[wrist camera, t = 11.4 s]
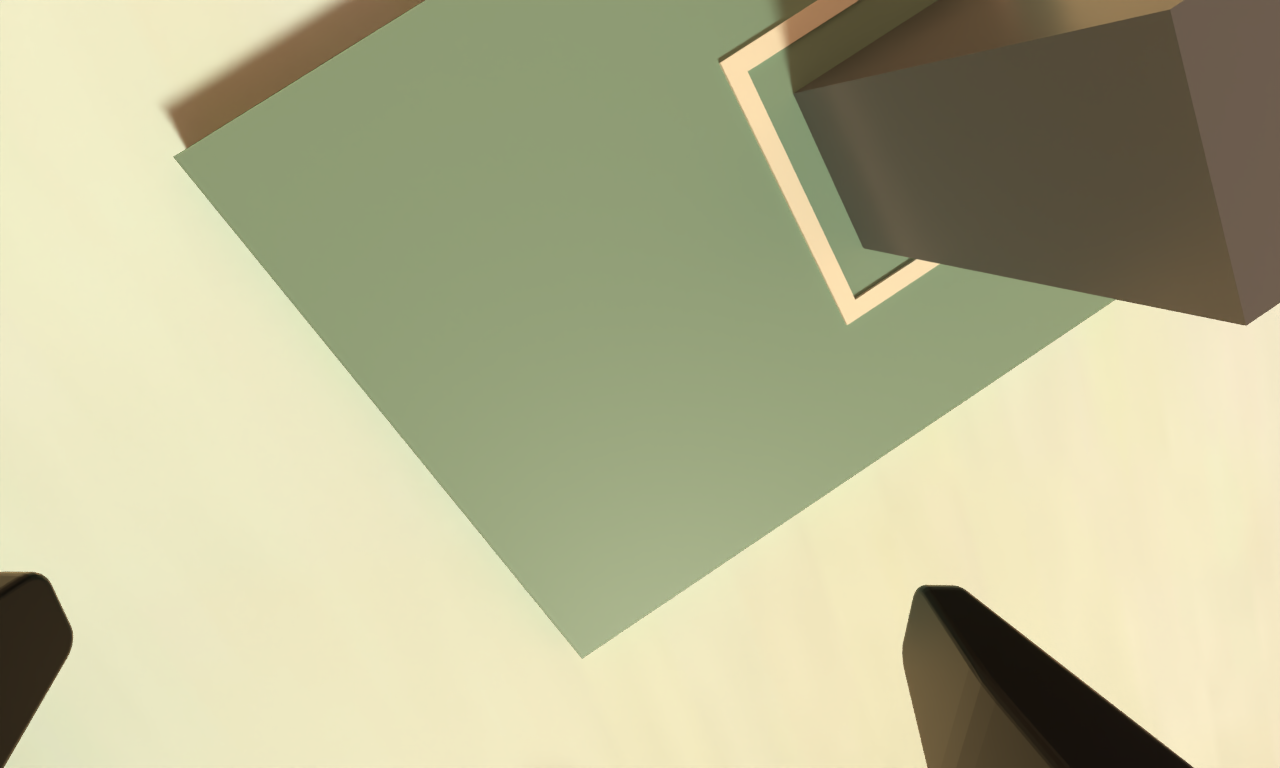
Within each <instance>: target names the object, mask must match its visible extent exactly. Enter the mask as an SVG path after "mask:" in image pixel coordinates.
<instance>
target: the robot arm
mask: <svg viewBox="0 0 1280 768" xmlns="http://www.w3.org/2000/svg"><path fill="white" fill-rule="evenodd" d="M72 643H73V631H72V628H71V625H70V623H69V621H68V619H67V617H66V614H65V612H64V610H63V608H62V606H61V604H60V602H59V600H58V597H57V595H56V593H55V591H54V589H53V587H52V585H51V583H50V581H49V580H48V579H47V578H46V577H45V576H43V575H42V574H39V573H36V572H0V768H4V766H5V765H6V763H7V761H8V759H9V758H10V756H11V754H12V752H13V751H14V749H15V747H16V745H17V744H18V742H19V740H20V739H21V737H22V735H23V733H24V732H25V730H26V728H27V726H28V725H29V723H30V721H31V720H32V718H33V716H34V714H35V713H36V711H37V709H38V707H39V706H40V704H41V702H42V700H43V699H44V697H45V695H46V694H47V692H48V690H49V688H50V687H51V685H52V683H53V681H54V680H55V678H56V676H57V675H58V673H59V671H60V669H61V668H62V666H63V664H64V662H65V661H66V659H67V657H68V655H69V653H70V650H71V647H72ZM902 655H903V665H904V670H905V675H906V679H907V683H908V687H909V692H910V696H911V700H912V704H913V708H914V713H915V717H916V721H917V725H918V730H919V734H920V738H921V742H922V746H923V751H924V755H925V759H926V763H927V768H1194V767H1192V766H1191V765H1190V764H1188V763H1187V762H1186V761H1185V760H1183V759H1182V758H1181V757H1179V756H1178V755H1177V754H1176V753H1174V752H1173V751H1172V750H1170V749H1169V748H1168V747H1167V746H1165V745H1164V744H1163V743H1161V742H1160V741H1159V740H1158V739H1156V738H1155V737H1154V736H1152V735H1151V734H1150V733H1149V732H1147V731H1146V730H1145V729H1143V728H1142V727H1141V726H1140V725H1138V724H1137V723H1136V722H1134V721H1133V720H1132V719H1131V718H1129V717H1128V716H1127V715H1126V714H1124V713H1123V712H1122V711H1120V710H1119V709H1118V708H1117V707H1115V706H1114V705H1113V704H1111V703H1110V702H1109V701H1108V700H1106V699H1105V698H1104V697H1102V696H1101V695H1100V694H1099V693H1097V692H1096V691H1095V690H1093V689H1092V688H1091V687H1090V686H1088V685H1087V684H1086V683H1084V682H1083V681H1082V680H1081V679H1079V678H1078V677H1077V676H1075V675H1074V674H1073V673H1072V672H1070V671H1069V670H1068V669H1066V668H1065V667H1064V666H1063V665H1061V664H1060V663H1059V662H1057V661H1056V660H1055V659H1054V658H1052V657H1051V656H1050V655H1048V654H1047V653H1046V652H1045V651H1043V650H1042V649H1041V648H1039V647H1038V646H1037V645H1036V644H1034V643H1033V642H1032V641H1030V640H1029V639H1028V638H1027V637H1025V636H1024V635H1023V634H1022V633H1020V632H1019V631H1018V630H1016V629H1015V628H1014V627H1013V626H1011V625H1010V624H1009V623H1007V622H1006V621H1005V620H1004V619H1002V618H1001V617H1000V616H998V615H997V614H996V613H995V612H993V611H992V610H991V609H989V608H988V607H987V606H986V605H984V604H983V603H982V602H980V601H979V600H978V599H977V598H975V597H974V596H973V595H971V594H970V593H969V592H968V591H966V590H965V589H963V588H961V587H959V586H953V585H923V586H921V587H919V588H918V589H917V590H916V592H915V594H914V597H913V601H912V605H911V610H910V614H909V619H908V623H907V628H906V632H905V637H904V641H903V650H902Z"/></svg>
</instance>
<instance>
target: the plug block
mask: <svg viewBox="0 0 1280 768" xmlns="http://www.w3.org/2000/svg"><path fill="white" fill-rule="evenodd" d="M793 95H794V97H795V99H796V101H797V103H798V106H799V108H800V110H801V112H802V114H803V117H804V119H805V121H806V123H807V125H808V128H809V130H810V132H811V134H812V136H813V139H814V141H815V143H816V145H817V147H818V150H819V152H820V154H821V156H822V158H823V161H824V163H825V165H826V167H827V170H828V172H829V174H830V176H831V178H832V181H833V183H834V185H835V187H836V189H837V192H838V194H839V196H840V198H841V200H842V203H843V205H844V207H845V209H846V211H847V214H848V216H849V218H850V220H851V222H852V225H853V227H854V229H855V231H856V233H857V236H858V238H859V240H860V242H861V244H862V247H863V248H864V249H869V250H874V251H879V252H884V253H889V254H894V255H899V256H904V257H909V258H914V259H919V260H923V261H928V262H933V263H938V264H943V265H948V266H953V267H958V268H963V269H968V270H973V271H978V272H983V273H988V274H993V275H998V276H1003V277H1008V278H1013V279H1018V280H1023V281H1028V282H1033V283H1037V284H1042V285H1047V286H1052V287H1057V288H1062V289H1067V290H1072V291H1077V292H1082V293H1087V294H1092V295H1097V296H1102V297H1107V298H1112V299H1117V300H1122V301H1127V302H1132V303H1137V304H1142V305H1147V306H1151V307H1156V308H1161V309H1166V310H1171V311H1176V312H1181V313H1186V314H1191V315H1196V316H1201V317H1206V318H1211V319H1216V320H1221V321H1226V322H1231V323H1236V324H1241V325H1248V324H1249V323H1251V322H1252V321H1254V320H1255V319H1257V318H1258V317H1260V316H1261V315H1262V314H1264V313H1265V312H1267V311H1268V310H1270V309H1271V308H1273V307H1274V306H1276V305H1277V304H1279V303H1280V0H937V1H936V2H934V3H933V4H931V5H930V6H928V7H927V8H925V9H924V10H922V11H920V12H919V13H917V14H916V15H914V16H913V17H911V18H910V19H908V20H906V21H905V22H903V23H902V24H900V25H899V26H897V27H896V28H894V29H893V30H891V31H889V32H888V33H886V34H885V35H883V36H882V37H880V38H879V39H877V40H875V41H874V42H872V43H871V44H869V45H868V46H866V47H865V48H863V49H861V50H860V51H858V52H857V53H855V54H854V55H852V56H851V57H849V58H848V59H846V60H844V61H843V62H841V63H840V64H838V65H837V66H835V67H834V68H832V69H830V70H829V71H827V72H826V73H824V74H823V75H821V76H820V77H818V78H817V79H815V80H813V81H812V82H810V83H809V84H807V85H806V86H804V87H803V88H801V89H799V90H798V91H796V92H795V93H793Z"/></svg>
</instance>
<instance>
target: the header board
mask: <svg viewBox="0 0 1280 768" xmlns="http://www.w3.org/2000/svg"><path fill="white" fill-rule="evenodd" d="M936 1H937V0H425V1H423V2H422V3H420V4H418V5H417V6H415V7H414V8H412V9H410V10H409V11H407V12H406V13H404V14H402V15H401V16H399V17H397V18H396V19H394V20H393V21H391V22H389V23H388V24H386V25H385V26H383V27H381V28H380V29H378V30H377V31H375V32H373V33H372V34H370V35H369V36H367V37H365V38H364V39H362V40H360V41H359V42H357V43H356V44H354V45H352V46H351V47H349V48H348V49H346V50H344V51H343V52H341V53H340V54H338V55H336V56H335V57H333V58H332V59H330V60H328V61H327V62H325V63H324V64H322V65H320V66H319V67H317V68H315V69H314V70H312V71H311V72H309V73H307V74H306V75H304V76H303V77H301V78H299V79H298V80H296V81H295V82H293V83H291V84H290V85H288V86H287V87H285V88H283V89H282V90H280V91H279V92H277V93H275V94H274V95H272V96H270V97H269V98H267V99H266V100H264V101H262V102H261V103H259V104H258V105H256V106H254V107H253V108H251V109H250V110H248V111H246V112H245V113H243V114H242V115H240V116H238V117H237V118H235V119H234V120H232V121H230V122H229V123H227V124H225V125H224V126H222V127H221V128H219V129H217V130H216V131H214V132H213V133H211V134H209V135H208V136H206V137H205V138H203V139H201V140H200V141H198V142H197V143H195V144H193V145H192V146H190V147H189V148H187V149H185V150H184V151H182V152H180V153H179V154H177V155H176V156H174V158H175V160H176V161H177V162H178V163H179V164H180V166H181V167H182V168H183V169H184V171H185V172H186V173H187V174H188V175H189V177H190V178H191V179H192V180H193V182H194V183H195V184H196V185H197V187H198V188H199V189H200V190H201V191H202V193H203V194H204V195H205V196H206V198H207V199H208V200H209V201H210V202H211V204H212V205H213V206H214V207H215V209H216V210H217V211H218V212H219V214H220V215H221V216H222V217H223V218H224V220H225V221H226V222H227V223H228V225H229V226H230V227H231V228H232V230H233V231H234V232H235V233H236V234H237V236H238V237H239V238H240V239H241V241H242V242H243V243H244V244H245V245H246V247H247V248H248V249H249V250H250V252H251V253H252V254H253V255H254V257H255V258H256V259H257V260H258V261H259V263H260V264H261V265H262V266H263V268H264V269H265V270H266V271H267V272H268V274H269V275H270V276H271V277H272V279H273V280H274V281H275V282H276V284H277V285H278V286H279V287H280V288H281V290H282V291H283V292H284V293H285V295H286V296H287V297H288V298H289V300H290V301H291V302H292V303H293V304H294V306H295V307H296V308H297V309H298V311H299V312H300V313H301V314H302V315H303V317H304V318H305V319H306V320H307V322H308V323H309V324H310V325H311V327H312V328H313V329H314V330H315V331H316V333H317V334H318V335H319V336H320V338H321V339H322V340H323V341H324V342H325V344H326V345H327V346H328V347H329V349H330V350H331V351H332V352H333V354H334V355H335V356H336V357H337V358H338V360H339V361H340V362H341V363H342V365H343V366H344V367H345V368H346V369H347V371H348V372H349V373H350V374H351V376H352V377H353V378H354V379H355V381H356V382H357V383H358V384H359V385H360V387H361V388H362V389H363V390H364V392H365V393H366V394H367V395H368V397H369V398H370V399H371V400H372V401H373V403H374V404H375V405H376V406H377V408H378V409H379V410H380V411H381V412H382V414H383V415H384V416H385V417H386V419H387V420H388V421H389V422H390V424H391V425H392V426H393V427H394V428H395V430H396V431H397V432H398V433H399V435H400V436H401V437H402V438H403V439H404V441H405V442H406V443H407V444H408V446H409V447H410V448H411V449H412V451H413V452H414V453H415V454H416V455H417V457H418V458H419V459H420V460H421V462H422V463H423V464H424V465H425V467H426V468H427V469H428V470H429V471H430V473H431V474H432V475H433V476H434V478H435V479H436V480H437V481H438V482H439V484H440V485H441V486H442V487H443V489H444V490H445V491H446V492H447V494H448V495H449V496H450V497H451V498H452V500H453V501H454V502H455V503H456V505H457V506H458V507H459V508H460V509H461V511H462V512H463V513H464V514H465V516H466V517H467V518H468V519H469V521H470V522H471V523H472V524H473V525H474V527H475V528H476V529H477V530H478V532H479V533H480V534H481V535H482V537H483V538H484V539H485V540H486V541H487V543H488V544H489V545H490V546H491V548H492V549H493V550H494V551H495V552H496V554H497V555H498V556H499V557H500V559H501V560H502V561H503V562H504V564H505V565H506V566H507V567H508V568H509V570H510V571H511V572H512V573H513V575H514V576H515V577H516V578H517V579H518V581H519V582H520V583H521V584H522V586H523V587H524V588H525V589H526V591H527V592H528V593H529V594H530V595H531V597H532V598H533V599H534V600H535V602H536V603H537V604H538V605H539V607H540V608H541V609H542V610H543V611H544V613H545V614H546V615H547V616H548V618H549V619H550V620H551V621H552V622H553V624H554V625H555V626H556V627H557V629H558V630H559V631H560V632H561V634H562V635H563V636H564V637H565V638H566V640H567V641H568V642H569V643H570V645H571V646H572V647H573V648H574V649H575V651H576V652H577V653H578V654H579V656H580V657H581V658H584V657H585V656H587V655H588V654H590V653H591V652H593V651H594V650H596V649H597V648H599V647H600V646H602V645H603V644H605V643H606V642H608V641H609V640H611V639H612V638H614V637H615V636H617V635H618V634H620V633H621V632H623V631H624V630H625V629H627V628H628V627H630V626H631V625H633V624H634V623H636V622H637V621H639V620H640V619H642V618H643V617H645V616H646V615H648V614H649V613H651V612H652V611H654V610H655V609H657V608H658V607H660V606H661V605H663V604H664V603H666V602H667V601H669V600H670V599H672V598H673V597H674V596H676V595H677V594H679V593H680V592H682V591H683V590H685V589H686V588H688V587H689V586H691V585H692V584H694V583H695V582H697V581H698V580H700V579H701V578H703V577H704V576H706V575H707V574H709V573H710V572H712V571H713V570H715V569H716V568H718V567H719V566H721V565H722V564H724V563H725V562H726V561H728V560H729V559H731V558H732V557H734V556H735V555H737V554H738V553H740V552H741V551H743V550H744V549H746V548H747V547H749V546H750V545H752V544H753V543H755V542H756V541H758V540H759V539H761V538H762V537H764V536H765V535H767V534H768V533H770V532H771V531H773V530H774V529H775V528H777V527H778V526H780V525H781V524H783V523H784V522H786V521H787V520H789V519H790V518H792V517H793V516H795V515H796V514H798V513H799V512H801V511H802V510H804V509H805V508H807V507H808V506H810V505H811V504H813V503H814V502H816V501H817V500H819V499H820V498H822V497H823V496H824V495H826V494H827V493H829V492H830V491H832V490H833V489H835V488H836V487H838V486H839V485H841V484H842V483H844V482H845V481H847V480H848V479H850V478H851V477H853V476H854V475H856V474H857V473H859V472H860V471H862V470H863V469H865V468H866V467H868V466H869V465H871V464H872V463H874V462H875V461H876V460H878V459H879V458H881V457H882V456H884V455H885V454H887V453H888V452H890V451H891V450H893V449H894V448H896V447H897V446H899V445H900V444H902V443H903V442H905V441H906V440H908V439H909V438H911V437H912V436H914V435H915V434H917V433H918V432H920V431H921V430H923V429H924V428H925V427H927V426H928V425H930V424H931V423H933V422H934V421H936V420H937V419H939V418H940V417H942V416H943V415H945V414H946V413H948V412H949V411H951V410H952V409H954V408H955V407H957V406H958V405H960V404H961V403H963V402H964V401H966V400H967V399H969V398H970V397H972V396H973V395H975V394H976V393H977V392H979V391H980V390H982V389H983V388H985V387H986V386H988V385H989V384H991V383H992V382H994V381H995V380H997V379H998V378H1000V377H1001V376H1003V375H1004V374H1006V373H1007V372H1009V371H1010V370H1012V369H1013V368H1015V367H1016V366H1018V365H1019V364H1021V363H1022V362H1024V361H1025V360H1026V359H1028V358H1029V357H1031V356H1032V355H1034V354H1035V353H1037V352H1038V351H1040V350H1041V349H1043V348H1044V347H1046V346H1047V345H1049V344H1050V343H1052V342H1053V341H1055V340H1056V339H1058V338H1059V337H1061V336H1062V335H1064V334H1065V333H1067V332H1068V331H1070V330H1071V329H1073V328H1074V327H1075V326H1077V325H1078V324H1080V323H1081V322H1083V321H1084V320H1086V319H1087V318H1089V317H1090V316H1092V315H1093V314H1095V313H1096V312H1098V311H1099V310H1101V309H1102V308H1104V307H1105V306H1107V305H1108V304H1110V303H1111V302H1113V301H1114V300H1116V299H1112V298H1107V297H1102V296H1097V295H1092V294H1087V293H1082V292H1077V291H1072V290H1067V289H1062V288H1057V287H1052V286H1047V285H1042V284H1037V283H1033V282H1028V281H1023V280H1018V279H1013V278H1008V277H1003V276H998V275H993V274H988V273H983V272H978V271H973V270H968V269H963V268H958V267H953V266H948V265H943V264H938V263H933V262H928V261H923V260H919V259H914V258H909V257H904V256H899V255H894V254H889V253H884V252H879V251H874V250H869V249H864V248H863V247H862V244H861V242H860V240H859V238H858V236H857V233H856V231H855V229H854V227H853V225H852V222H851V220H850V218H849V216H848V214H847V211H846V209H845V207H844V205H843V203H842V200H841V198H840V196H839V194H838V192H837V189H836V187H835V185H834V183H833V181H832V178H831V176H830V174H829V172H828V170H827V167H826V165H825V163H824V161H823V158H822V156H821V154H820V152H819V150H818V147H817V145H816V143H815V141H814V139H813V136H812V134H811V132H810V130H809V128H808V125H807V123H806V121H805V119H804V117H803V114H802V112H801V110H800V108H799V106H798V103H797V101H796V99H795V97H794V95H793V93H795V92H796V91H798V90H799V89H801V88H803V87H804V86H806V85H807V84H809V83H810V82H812V81H813V80H815V79H817V78H818V77H820V76H821V75H823V74H824V73H826V72H827V71H829V70H830V69H832V68H834V67H835V66H837V65H838V64H840V63H841V62H843V61H844V60H846V59H848V58H849V57H851V56H852V55H854V54H855V53H857V52H858V51H860V50H861V49H863V48H865V47H866V46H868V45H869V44H871V43H872V42H874V41H875V40H877V39H879V38H880V37H882V36H883V35H885V34H886V33H888V32H889V31H891V30H893V29H894V28H896V27H897V26H899V25H900V24H902V23H903V22H905V21H906V20H908V19H910V18H911V17H913V16H914V15H916V14H917V13H919V12H920V11H922V10H924V9H925V8H927V7H928V6H930V5H931V4H933V3H934V2H936Z"/></svg>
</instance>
